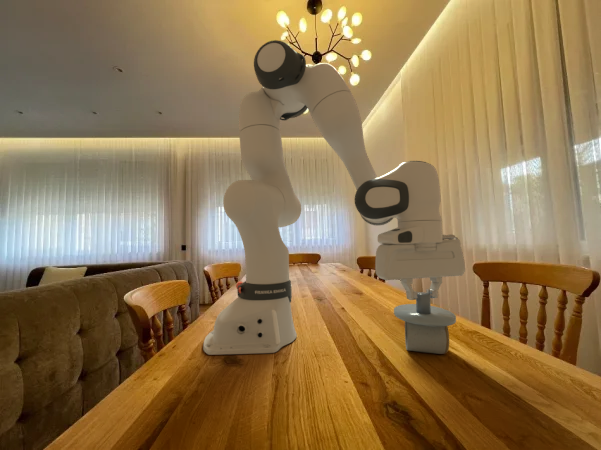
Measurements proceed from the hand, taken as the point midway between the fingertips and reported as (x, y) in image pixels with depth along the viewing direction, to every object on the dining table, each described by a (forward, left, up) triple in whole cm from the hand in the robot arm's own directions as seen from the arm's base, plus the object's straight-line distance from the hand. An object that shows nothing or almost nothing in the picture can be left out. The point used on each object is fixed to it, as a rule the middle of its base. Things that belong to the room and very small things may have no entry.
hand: (422, 298), depth 55 cm
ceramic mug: (+1, +2, -12) cm, 12 cm away
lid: (0, 0, -4) cm, 4 cm away
